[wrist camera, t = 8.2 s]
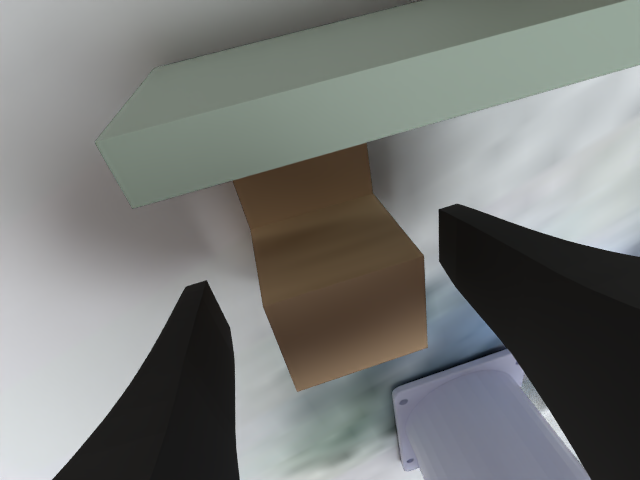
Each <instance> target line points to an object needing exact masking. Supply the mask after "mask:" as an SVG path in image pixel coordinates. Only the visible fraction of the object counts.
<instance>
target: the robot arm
mask: <svg viewBox="0 0 640 480" xmlns="http://www.w3.org/2000/svg"><path fill="white" fill-rule="evenodd" d="M439 262H440V263H441V265H442V267H443V268H444V270H445V271H446V273H447V275H448V276H449V278H450V279H451V281H452V282H453V284H454V285H455V287H456V288H457V289H458V291H459V292H460V293H461V294H462V295H463V297H464V298H465V299H466V300H467V301H468V302H469V304H470V305H471V306H472V307H473V308H474V310H475V311H476V312H477V313H478V314H479V315H480V317H481V318H482V319H483V320H484V321H485V322H486V323H487V325H488V326H489V327H490V328H491V329H492V330H493V332H494V333H495V334H496V335H497V336H498V337H499V339H500V340H501V341H502V342H503V344H504V345H505V346H506V347H507V349H505V350H502V351H500V352H497V353H494V354H491V355H488V356H485V357H482V358H479V359H476V360H474V361H471V362H468V363H465V364H462V365H459V366H456V367H453V368H450V369H448V370H445V371H442V372H439V373H436V374H433V375H430V376H427V377H424V378H421V379H419V380H416V381H413V382H410V383H407V384H404V385H401V386H399V387H397V388H395V389H394V390H393V392H392V399H393V406H394V413H395V420H396V427H397V434H398V441H399V448H400V455H401V462H402V466H403V469H404V470H405V471H411V470H414V469H417V468H420V471H421V473H422V475H423V477H424V480H640V257H637V256H631V255H626V254H621V253H616V252H611V251H607V250H602V249H598V248H594V247H590V246H585V245H581V244H577V243H574V242H570V241H566V240H563V239H560V238H556V237H553V236H550V235H546V234H543V233H540V232H537V231H534V230H531V229H528V228H525V227H522V226H519V225H516V224H514V223H511V222H508V221H505V220H503V219H500V218H497V217H494V216H492V215H489V214H486V213H483V212H481V211H478V210H475V209H472V208H469V207H466V206H463V205H460V204H455V205H452V206H448V207H445V208H442V209H439ZM524 373H525V374H526V375H527V377H528V378H529V380H530V381H531V383H532V384H533V386H534V387H535V389H536V390H537V392H538V393H539V395H540V396H541V398H542V399H543V401H544V403H545V404H546V406H547V407H548V409H549V410H550V412H551V413H552V415H553V417H554V418H555V420H556V421H557V423H558V425H559V426H560V428H561V430H562V431H563V433H564V434H565V436H566V438H567V439H568V441H569V443H570V444H571V446H572V447H573V449H574V451H575V453H576V454H577V456H578V458H579V459H580V461H581V463H582V465H583V466H584V468H585V469H584V468H583V466H582V465H581V464H580V463H579V461H578V460H577V459H576V457H575V456H574V455H573V454H572V452H571V451H570V450H569V449H568V447H567V446H566V445H565V444H564V442H563V441H562V440H561V438H560V437H559V436H558V435H557V433H556V432H555V431H554V430H553V428H552V427H551V426H550V424H549V423H548V422H547V421H546V419H545V418H544V417H543V416H542V414H541V413H540V412H539V411H538V409H537V408H536V407H535V405H534V404H533V403H532V402H531V400H530V399H529V398H528V397H527V395H526V394H525V393H524V392H523V390H522V389H521V385H522V381H523V376H524ZM52 480H240V479H239V470H238V461H237V451H236V435H235V361H234V351H233V344H232V337H231V331H230V327H229V325H228V323H227V321H226V319H225V317H224V315H223V313H222V311H221V309H220V306H219V304H218V302H217V300H216V298H215V296H214V294H213V292H212V290H211V288H210V286H209V284H208V282H207V280H206V281H203V282H200V283H196V284H193V285H190V286H186V287H185V289H184V291H183V293H182V294H181V296H180V298H179V300H178V302H177V304H176V306H175V308H174V310H173V311H172V313H171V315H170V317H169V319H168V321H167V323H166V325H165V327H164V328H163V330H162V332H161V334H160V335H159V337H158V339H157V341H156V343H155V344H154V346H153V348H152V350H151V351H150V353H149V355H148V356H147V358H146V359H145V361H144V363H143V364H142V366H141V368H140V369H139V371H138V372H137V374H136V376H135V377H134V379H133V380H132V382H131V383H130V385H129V386H128V387H127V389H126V390H125V392H124V393H123V395H122V396H121V397H120V399H119V400H118V401H117V403H116V404H115V405H114V407H113V408H112V409H111V411H110V412H109V413H108V415H107V416H106V417H105V419H104V420H103V421H102V422H101V424H100V425H99V426H98V427H97V428H96V430H95V431H94V432H93V433H92V434H91V436H90V437H89V438H88V439H87V440H86V442H85V443H84V444H83V445H82V446H81V448H80V449H79V450H78V451H77V452H76V453H75V455H74V456H73V457H72V458H71V459H70V461H69V462H68V463H67V464H66V465H65V466H64V467H63V468H62V469H61V470H60V472H59V473H58V474H57V475H56V476H55V477H54V478H53V479H52Z"/></svg>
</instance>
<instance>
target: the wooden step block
mask: <svg viewBox="0 0 640 480" xmlns="http://www.w3.org/2000/svg"><path fill="white" fill-rule="evenodd" d="M233 183H234V186H235V189H236V192H237V194H238V197H239V200H240V202H241V205H242V208H243V211H244V213H245V216H246V219H247V222H248V224H249V227H250V230H251V236H252V242H253V248H254V254H255V261H256V267H257V273H258V279H259V285H260V291H261V297H262V303H263V308H264V310H265V313H266V315H267V318H268V320H269V323H270V325H271V328H272V330H273V333H274V335H275V338H276V340H277V343H278V345H279V348H280V350H281V353H282V355H283V358H284V360H285V363H286V365H287V368H288V370H289V373H290V375H291V378H292V380H293V383H294V385H295V388H296V390H297V392H298V391H301V390H304V389H307V388H310V387H313V386H316V385H319V384H322V383H325V382H328V381H331V380H334V379H337V378H340V377H343V376H346V375H349V374H351V373H354V372H357V371H360V370H363V369H366V368H369V367H372V366H375V365H378V364H381V363H384V362H387V361H390V360H393V359H396V358H399V357H402V356H405V355H408V354H410V353H413V352H416V351H419V350H422V349H425V348H428V345H427V320H426V295H425V270H424V255H423V254H422V253H421V252H420V250H419V249H418V248H417V247H416V245H415V244H414V243H413V242H412V241H411V239H410V238H409V237H408V236H407V234H406V233H405V232H404V231H403V230H402V228H401V227H400V226H399V225H398V223H397V222H396V221H395V220H394V218H393V217H392V216H391V215H390V214H389V212H388V211H387V210H386V209H385V207H384V206H383V205H382V204H381V203H380V201H379V200H378V199H377V198H376V196H375V195H374V194H373V190H372V182H371V174H370V166H369V158H368V150H367V143H363V144H360V145H356V146H352V147H349V148H345V149H342V150H338V151H335V152H331V153H328V154H324V155H321V156H317V157H314V158H310V159H307V160H303V161H300V162H296V163H293V164H289V165H286V166H282V167H278V168H275V169H271V170H268V171H264V172H261V173H257V174H254V175H250V176H247V177H243V178H240V179H236V180H233Z"/></svg>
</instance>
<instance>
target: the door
mask: <svg viewBox="0 0 640 480" xmlns="http://www.w3.org/2000/svg"><path fill="white" fill-rule="evenodd" d="M638 65H640V0H422V1H418V2H414V3H410V4H406V5H402V6H398V7H394V8H390V9H386V10H382V11H378V12H374V13H370V14H366V15H362V16H358V17H354V18H350V19H347V20H343V21H339V22H335V23H331V24H327V25H323V26H319V27H315V28H311V29H307V30H303V31H299V32H295V33H291V34H287V35H283V36H279V37H275V38H271V39H267V40H263V41H259V42H255V43H251V44H248V45H244V46H240V47H236V48H232V49H228V50H224V51H220V52H216V53H212V54H208V55H204V56H200V57H196V58H192V59H188V60H184V61H180V62H176V63H172V64H168V65H164V66H160V67H156V68H154V69H153V70H152V72H151V73H150V74H149V75H148V77H147V78H146V79H145V80H144V81H143V83H142V84H141V85H140V86H139V88H138V89H137V90H136V91H135V93H134V94H133V95H132V96H131V98H130V99H129V100H128V101H127V102H126V104H125V105H124V106H123V107H122V109H121V110H120V111H119V112H118V114H117V115H116V116H115V117H114V119H113V120H112V121H111V122H110V123H109V125H108V126H107V127H106V128H105V130H104V131H103V132H102V133H101V135H100V136H99V137H98V138H97V140H96V141H95V144H96V146H97V147H98V149H99V151H100V153H101V155H102V156H103V158H104V160H105V162H106V163H107V165H108V167H109V169H110V170H111V172H112V174H113V176H114V177H115V179H116V181H117V183H118V185H119V186H120V188H121V190H122V192H123V193H124V195H125V197H126V199H127V200H128V202H129V204H130V206H131V207H132V209H134V208H138V207H141V206H145V205H148V204H152V203H155V202H159V201H162V200H166V199H169V198H173V197H176V196H180V195H183V194H187V193H190V192H194V191H197V190H201V189H204V188H208V187H212V186H215V185H219V184H222V183H226V182H229V181H233V180H236V179H240V178H243V177H247V176H250V175H254V174H257V173H261V172H264V171H268V170H271V169H275V168H278V167H282V166H286V165H289V164H293V163H296V162H300V161H303V160H307V159H310V158H314V157H317V156H321V155H324V154H328V153H331V152H335V151H338V150H342V149H345V148H349V147H352V146H356V145H360V144H363V143H367V142H370V141H374V140H377V139H381V138H384V137H388V136H391V135H395V134H398V133H402V132H405V131H409V130H412V129H416V128H419V127H423V126H426V125H430V124H434V123H437V122H441V121H444V120H448V119H451V118H455V117H458V116H462V115H465V114H469V113H472V112H476V111H479V110H483V109H486V108H490V107H493V106H497V105H500V104H504V103H508V102H511V101H515V100H518V99H522V98H525V97H529V96H532V95H536V94H539V93H543V92H546V91H550V90H553V89H557V88H560V87H564V86H567V85H571V84H574V83H578V82H582V81H585V80H589V79H592V78H596V77H599V76H603V75H606V74H610V73H613V72H617V71H620V70H624V69H627V68H631V67H634V66H638Z"/></svg>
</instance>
